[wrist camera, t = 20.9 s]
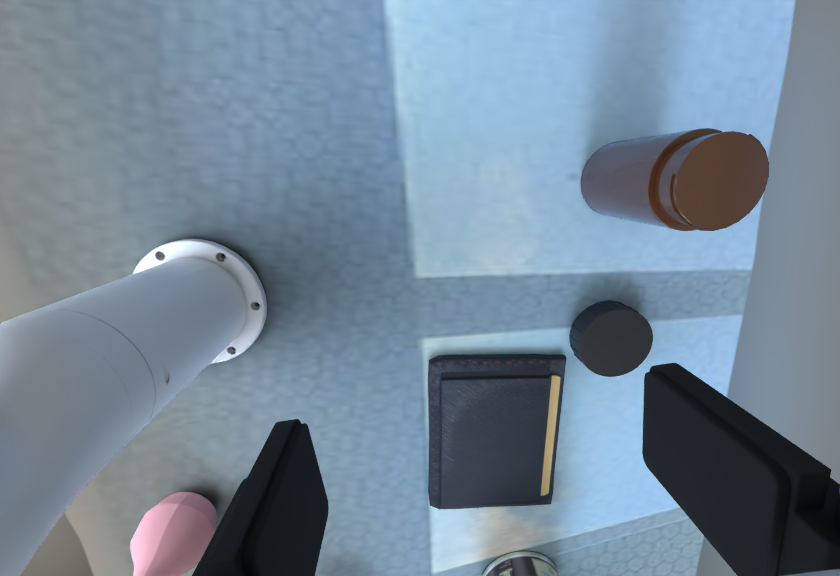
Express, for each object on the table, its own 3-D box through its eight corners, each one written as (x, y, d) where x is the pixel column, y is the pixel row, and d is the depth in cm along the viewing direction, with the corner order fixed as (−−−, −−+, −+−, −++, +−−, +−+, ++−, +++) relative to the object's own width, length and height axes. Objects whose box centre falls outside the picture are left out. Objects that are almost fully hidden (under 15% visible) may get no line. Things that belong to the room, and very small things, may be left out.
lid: (558, 321, 40) (568, 330, 38) (624, 288, 40) (639, 295, 37) (583, 376, 42) (595, 388, 40) (647, 345, 42) (662, 356, 39)
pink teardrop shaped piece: (164, 530, 46) (84, 649, 35) (155, 478, 44) (67, 586, 32) (230, 531, 46) (173, 648, 35) (225, 479, 44) (162, 585, 33)
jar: (620, 229, 38) (722, 254, 26) (566, 191, 37) (647, 200, 24) (666, 167, 36) (798, 163, 24) (611, 126, 35) (721, 100, 23)
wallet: (430, 362, 39) (577, 362, 40) (428, 353, 41) (569, 353, 42) (425, 517, 45) (554, 515, 45) (424, 504, 46) (548, 502, 47)
